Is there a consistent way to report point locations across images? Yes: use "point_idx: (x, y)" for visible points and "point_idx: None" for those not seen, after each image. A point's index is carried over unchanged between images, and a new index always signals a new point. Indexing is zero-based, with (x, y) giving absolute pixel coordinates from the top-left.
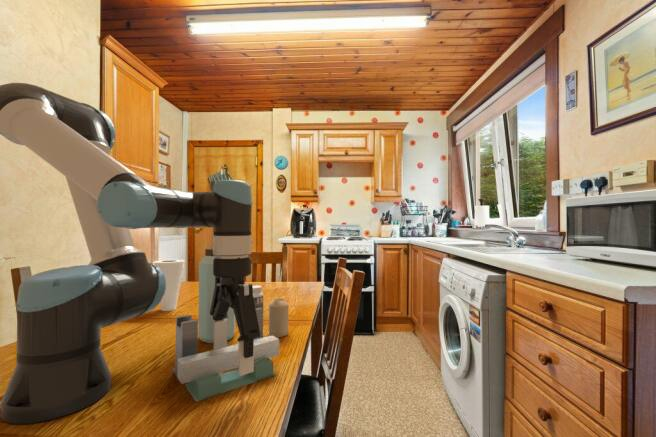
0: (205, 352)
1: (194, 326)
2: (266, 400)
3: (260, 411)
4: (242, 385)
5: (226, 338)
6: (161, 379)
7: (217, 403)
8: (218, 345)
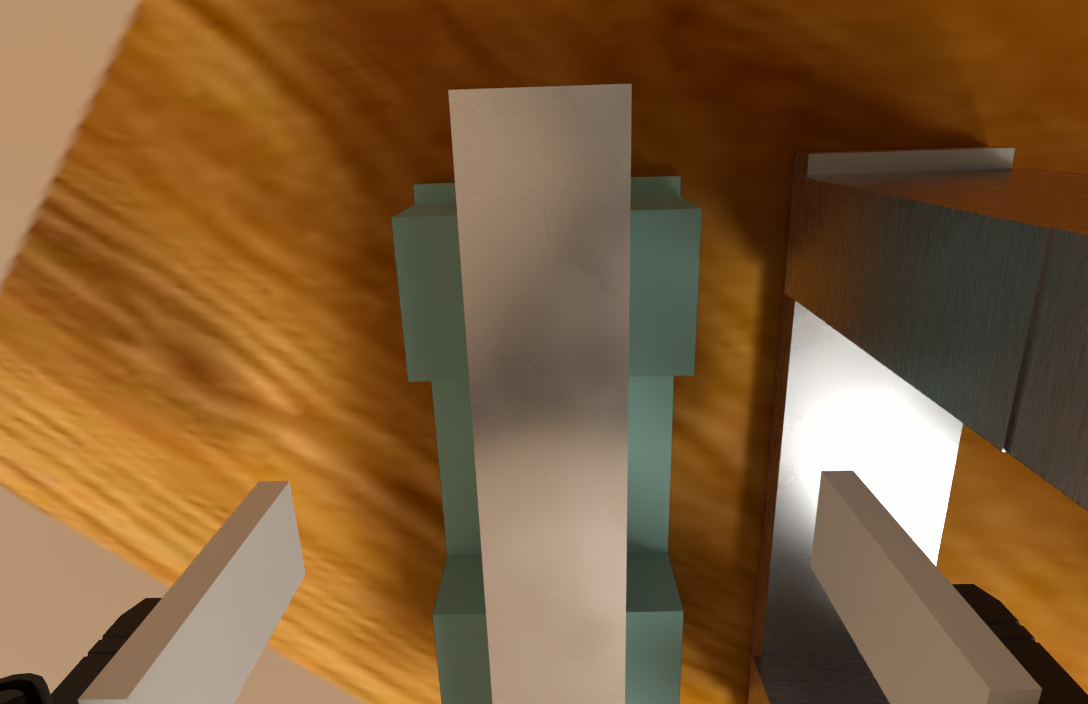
0: (611, 373)
1: (1040, 423)
2: (215, 516)
3: (125, 451)
4: (440, 476)
5: (851, 631)
6: (926, 38)
7: (326, 291)
8: (840, 531)
